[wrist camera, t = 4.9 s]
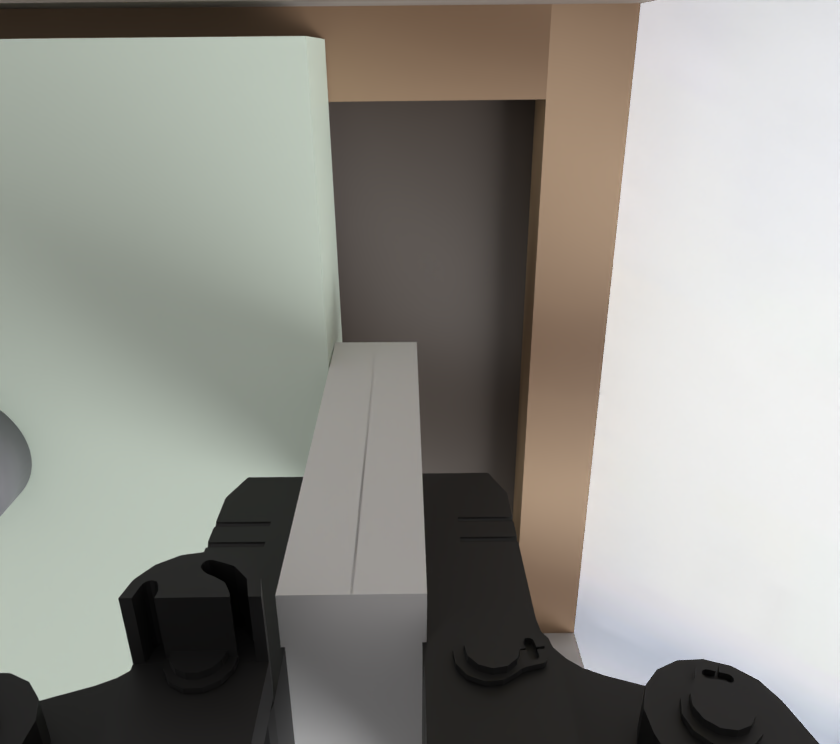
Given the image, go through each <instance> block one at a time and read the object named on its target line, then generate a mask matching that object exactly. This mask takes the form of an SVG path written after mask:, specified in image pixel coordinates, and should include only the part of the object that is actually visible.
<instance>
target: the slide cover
mask: <svg viewBox="0 0 840 744" xmlns="http://www.w3.org/2000/svg"><path fill="white" fill-rule="evenodd" d="M335 342H342V327H341V310H340V293H339V275H338V258H337V241H336V224H335V207H334V190H333V173H332V156H331V139H330V122H329V105H328V88H327V71H326V54H325V39H321V38H315V37H309V36H256V37H153V38H50V39H0V673H11V674H13V675H16V676H18V677H20V678H22V679H24V680H26V681H29V682H30V684H31V686H32V688H33V689H34V691H35V693H36V695H37V697H38V699H39V701H40V700H44V699H48V698H51V697H55V696H59V695H63V694H66V693H70V692H74V691H77V690H81V689H85V688H88V687H92V686H96V685H98V684H101V683H104V682H107V681H110V680H112V679H115V678H118V677H119V676H121V675H123V674H125V673H127V672H129V671H130V670H131V667H132V665H133V662H132V657H131V653H130V648H129V644H128V640H127V635H126V631H125V626H124V622H123V617H122V613H121V608H120V604H119V600H118V598H119V597H120V596H121V594H122V593H123V592H124V591H125V589H126V588H127V587H128V586H129V584H130V583H131V582H132V581H133V579H135V578H136V577H138V576H139V575H141V574H142V573H144V572H145V571H147V570H148V569H150V568H151V567H153V566H154V565H156V564H159V563H161V562H164V561H167V560H169V559H172V558H175V557H177V556H180V555H186V554H193V553H201V552H204V550H205V548H207V547H208V540H209V538H210V535H211V533H212V530H213V528H214V527H216V520H217V518H218V515H219V513H220V510H221V508H222V505H223V503H224V500H225V498H226V497H227V496H228V495H229V494H230V493H231V492H233V491H234V490H235V489H236V488H237V487H238V486H239V485H240V484H241V483H242V482H243V481H245V480H246V479H247V478H248V477H304V472H305V468H306V464H307V460H308V456H309V451H310V447H311V443H312V439H313V434H314V430H315V426H316V422H317V418H318V413H319V409H320V405H321V401H322V397H323V392H324V388H325V384H326V380H327V376H328V371H329V367H330V363H331V359H332V354H333V350H334V346H335Z"/></svg>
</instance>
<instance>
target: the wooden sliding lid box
mask: <svg viewBox="0 0 840 744" xmlns="http://www.w3.org/2000/svg"><path fill="white" fill-rule="evenodd" d="M649 1H654V0H0V39H50V38H153V37H256V36H309V37H315V38H321V39H325V54H326V71H327V88H328V105H329V122H330V139H331V156H332V173H333V190H334V207H335V224H336V241H337V258H338V275H339V293H340V310H341V327H342V342H417V360H418V384H419V408H420V433H421V457H422V473H489V474H490V475H491V476H492V477H493V479H494V480H495V481H496V482H497V483H498V484H499V485H500V486H501V487H502V488H503V489H504V490H505V491H506V492H507V496H508V500H509V504H510V509H511V513H512V521H513V522H514V526H515V530H516V535H517V542H518V543H519V548H520V552H521V556H522V561H523V565H524V569H525V574H526V578H527V582H528V587H529V591H530V595H531V600H532V604H533V608H534V613H535V617H536V620H537V623H538V625H539V628H540V630H541V632H542V633H543V634H544V635H545V636H547V637H548V638H549V640H550V642H551V644H552V646H553V648H554V649H556V650H557V651H558V652H559V653H560V654H562V655H563V656H564V657H565V658H566V659H568V660H570V661H572V662H573V663H575V664H577V665H579V666H580V667H582V668H584V666H583V663H582V659H581V656H580V653H579V649H578V646H577V642H576V639H575V635H574V625H575V616H576V606H577V597H578V587H579V578H580V568H581V559H582V550H583V540H584V531H585V521H586V512H587V502H588V493H589V484H590V474H591V465H592V455H593V446H594V436H595V427H596V418H597V408H598V399H599V389H600V380H601V370H602V361H603V352H604V342H605V333H606V323H607V314H608V304H609V295H610V286H611V276H612V267H613V257H614V248H615V239H616V229H617V220H618V210H619V201H620V191H621V182H622V173H623V163H624V154H625V144H626V135H627V125H628V116H629V107H630V97H631V88H632V78H633V69H634V59H635V50H636V41H637V31H638V22H639V12H640V3H644V2H649Z"/></svg>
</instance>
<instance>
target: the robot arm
mask: <svg viewBox="0 0 840 744" xmlns="http://www.w3.org/2000/svg"><path fill="white" fill-rule="evenodd" d="M118 600H119V604H120V608H121V613H122V617H123V622H124V626H125V631H126V635H127V640H128V644H129V648H130V653H131V657H132V662H133V665H132V667H131V670H130V671H129V672H127V673H125V674H123V675H121V676H119V677H118V678H115V679H112V680H110V681H107V682H104V683H101V684H98V685H96V686H92V687H88V688H85V689H81V690H77V691H74V692H70V693H66V694H63V695H59V696H55V697H51V698H48V699H44V700H40V701H39V699H38V697H37V695H36V693H35V691H34V689H33V688H32V686H31V684H30V682H29V681H26V680H24V679H22V678H20V677H18V676H16V675H13V674H11V673H0V744H819V743H818V742H817V741H816V740H815V738H814V737H813V736H812V735H811V734H810V733H809V731H808V730H807V729H806V728H805V727H804V726H803V725H802V723H801V722H800V721H799V720H798V719H797V718H796V717H795V715H794V714H793V713H792V712H791V711H790V710H789V708H788V707H787V706H786V705H785V704H784V703H783V702H782V701H781V700H780V699H779V698H778V697H777V696H776V695H775V694H774V693H772V692H771V691H770V690H769V689H768V688H767V687H766V686H764V685H763V684H762V683H761V682H760V681H759V680H757V679H755V678H753V677H751V676H749V675H747V674H745V673H743V672H742V671H740V670H738V669H736V668H734V667H732V666H729V665H725V664H720V663H716V662H712V661H708V660H704V659H698V660H677V661H675V662H673V663H671V664H668V665H666V666H664V667H662V668H660V669H657V670H656V672H655V673H654V675H653V676H652V677H651V679H650V680H649V681H648V683H647V684H646V686H643V685H639V684H635V683H631V682H627V681H623V680H619V679H616V678H612V677H608V676H604V675H601V674H598V673H595V672H593V671H590V670H587V669H584V668H582V667H580V666H579V665H577V664H575V663H573V662H572V661H570V660H568V659H566V658H565V657H564V656H563V655H562V654H560V653H559V652H558V651H557V650H556V649H554V648H553V646H552V644H551V642H550V640H549V638H548V637H547V636H545V635H544V634H543V633H542V632H541V630H540V628H539V625H538V623H537V620H536V617H535V613H534V608H533V604H532V600H531V595H530V591H529V587H528V582H527V578H526V574H525V569H524V565H523V561H522V556H521V552H520V548H519V543H518V542H517V535H516V530H515V526H514V522H513V521H512V513H511V509H510V504H509V500H508V496H507V492H506V491H505V490H504V489H503V488H502V487H501V486H500V485H499V484H498V483H497V482H496V481H495V480H494V479H493V477H492V476H491V475H490V474H489V473H422V457H421V433H420V408H419V384H418V360H417V342H335V346H334V350H333V354H332V359H331V363H330V367H329V371H328V376H327V380H326V384H325V388H324V392H323V397H322V401H321V405H320V409H319V413H318V418H317V422H316V426H315V430H314V434H313V439H312V443H311V447H310V451H309V456H308V460H307V464H306V468H305V472H304V477H248V478H247V479H246V480H245V481H243V482H242V483H241V484H240V485H239V486H238V487H237V488H236V489H235V490H234V491H233V492H231V493H230V494H229V495H228V496H227V497H226V498H225V500H224V503H223V505H222V508H221V510H220V513H219V515H218V518H217V520H216V527H214V528H213V530H212V533H211V535H210V538H209V540H208V547H207V548H205V550H204V552H201V553H193V554H186V555H180V556H177V557H175V558H172V559H169V560H167V561H164V562H161V563H159V564H156V565H154V566H153V567H151V568H150V569H148V570H147V571H145V572H144V573H142V574H141V575H139V576H138V577H136V578H135V579H133V581H132V582H131V583H130V584H129V586H128V587H127V588H126V589H125V591H124V592H123V593H122V594H121V596H120V597H119V598H118Z"/></svg>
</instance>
